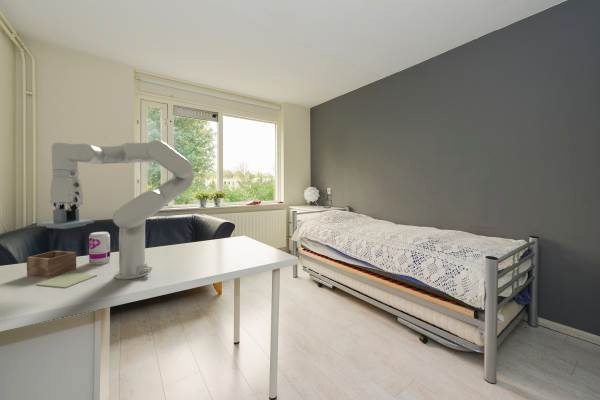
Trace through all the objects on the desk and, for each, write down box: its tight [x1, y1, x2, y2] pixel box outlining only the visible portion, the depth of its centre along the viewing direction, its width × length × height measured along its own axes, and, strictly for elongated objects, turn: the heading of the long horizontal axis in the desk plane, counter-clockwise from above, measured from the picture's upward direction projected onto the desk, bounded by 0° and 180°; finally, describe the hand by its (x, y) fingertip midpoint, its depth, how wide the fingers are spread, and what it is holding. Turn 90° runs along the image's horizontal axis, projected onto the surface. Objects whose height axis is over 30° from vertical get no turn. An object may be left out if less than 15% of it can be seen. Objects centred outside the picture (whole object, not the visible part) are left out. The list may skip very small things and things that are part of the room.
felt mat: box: [35, 272, 97, 289], centre depth 104 cm, size 13×13×1 cm
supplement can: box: [88, 231, 111, 266], centre depth 126 cm, size 8×8×15 cm
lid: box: [36, 208, 95, 230], centre depth 102 cm, size 12×12×7 cm
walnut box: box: [26, 250, 77, 279], centre depth 111 cm, size 11×11×8 cm
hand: (66, 219), depth 102 cm, fingers closed on lid, 3 cm apart
